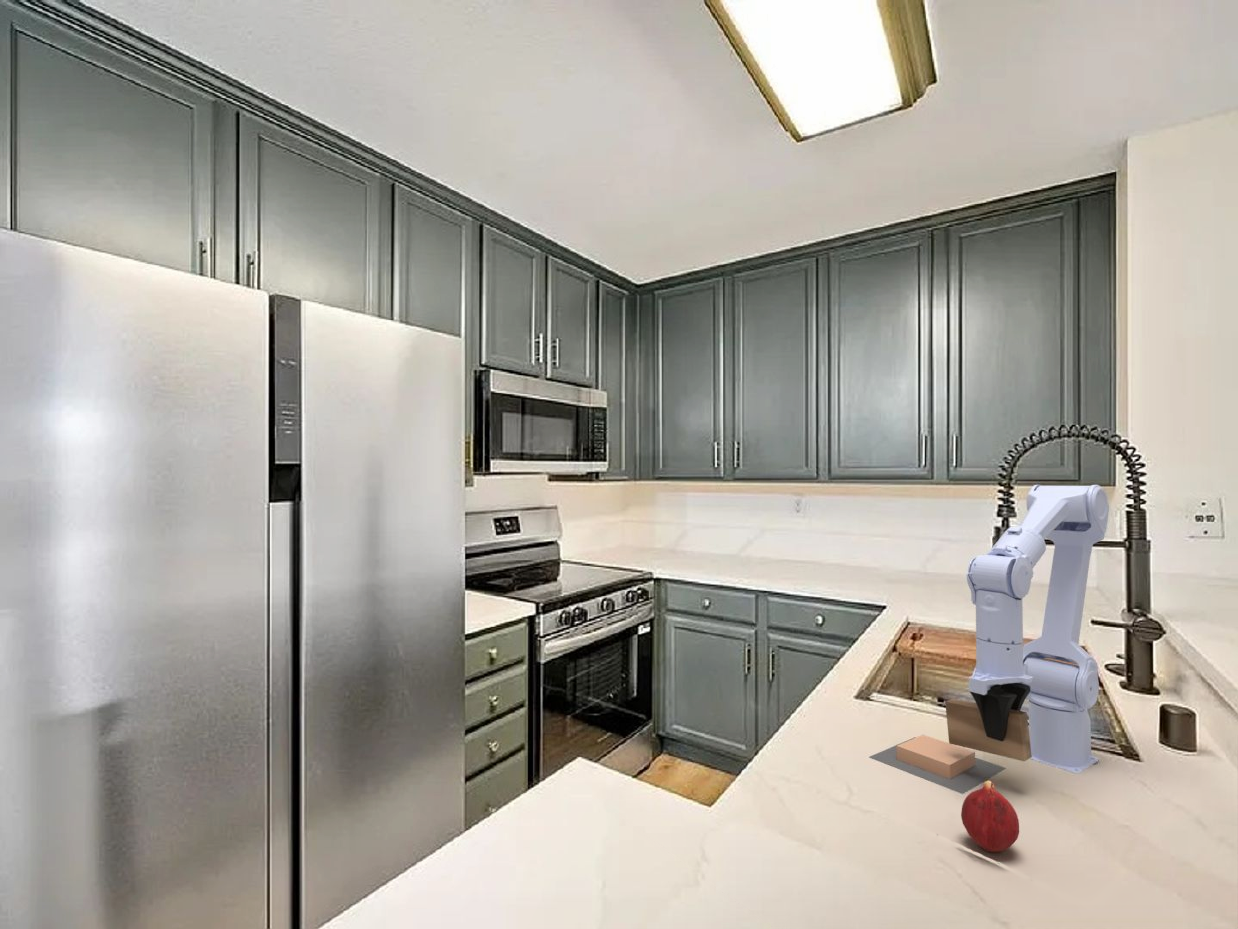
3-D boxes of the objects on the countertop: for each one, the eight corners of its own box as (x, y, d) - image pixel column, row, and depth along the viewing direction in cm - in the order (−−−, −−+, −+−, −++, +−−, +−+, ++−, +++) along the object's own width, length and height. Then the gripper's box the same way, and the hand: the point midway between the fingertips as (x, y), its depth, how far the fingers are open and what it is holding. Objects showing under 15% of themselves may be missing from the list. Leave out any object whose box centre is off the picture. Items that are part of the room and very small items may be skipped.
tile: (975, 765, 93) (922, 747, 99) (975, 752, 93) (922, 734, 99) (949, 779, 88) (896, 759, 95) (949, 765, 88) (896, 746, 95)
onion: (1029, 871, 67) (1028, 797, 68) (972, 863, 69) (971, 791, 69) (1006, 841, 73) (1006, 773, 73) (954, 835, 74) (954, 768, 75)
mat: (914, 740, 103) (914, 737, 103) (1006, 771, 92) (1006, 768, 92) (868, 760, 95) (868, 757, 95) (962, 797, 84) (962, 793, 84)
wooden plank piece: (957, 739, 92) (953, 698, 93) (1031, 757, 85) (1026, 712, 85) (949, 743, 91) (945, 701, 92) (1024, 761, 83) (1019, 715, 84)
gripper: (1008, 652, 80) (1009, 758, 79) (1050, 638, 88) (1052, 734, 88) (952, 641, 85) (953, 740, 85) (997, 629, 94) (998, 719, 93)
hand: (1000, 736), depth 87 cm, fingers closed on wooden plank piece, 2 cm apart
